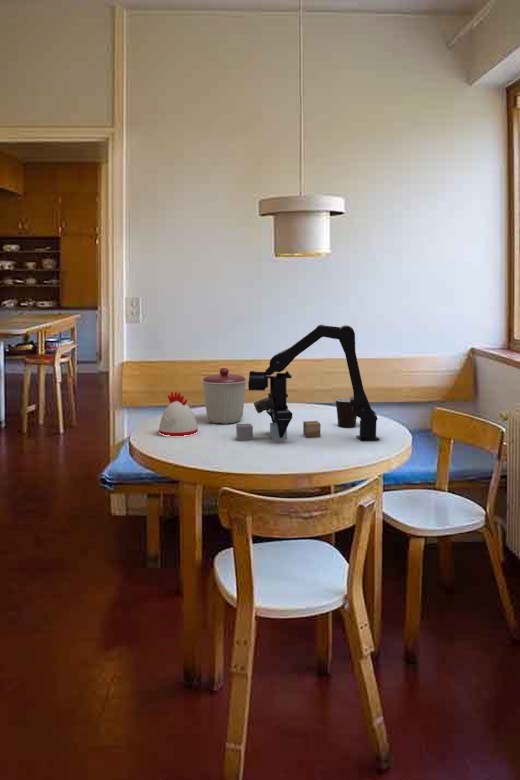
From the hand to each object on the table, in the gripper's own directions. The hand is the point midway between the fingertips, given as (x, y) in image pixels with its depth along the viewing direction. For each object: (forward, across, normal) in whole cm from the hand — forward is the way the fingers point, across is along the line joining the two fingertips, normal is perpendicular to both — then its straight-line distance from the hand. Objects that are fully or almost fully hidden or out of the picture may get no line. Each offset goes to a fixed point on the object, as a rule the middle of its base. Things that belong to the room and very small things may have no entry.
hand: (278, 434), depth 258 cm
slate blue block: (+1, 0, 0) cm, 1 cm away
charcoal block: (+1, 0, -12) cm, 12 cm away
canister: (+1, -32, -15) cm, 35 cm away
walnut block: (+1, 0, +12) cm, 12 cm away
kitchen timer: (+1, -15, -34) cm, 37 cm away
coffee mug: (+1, -15, +30) cm, 34 cm away
